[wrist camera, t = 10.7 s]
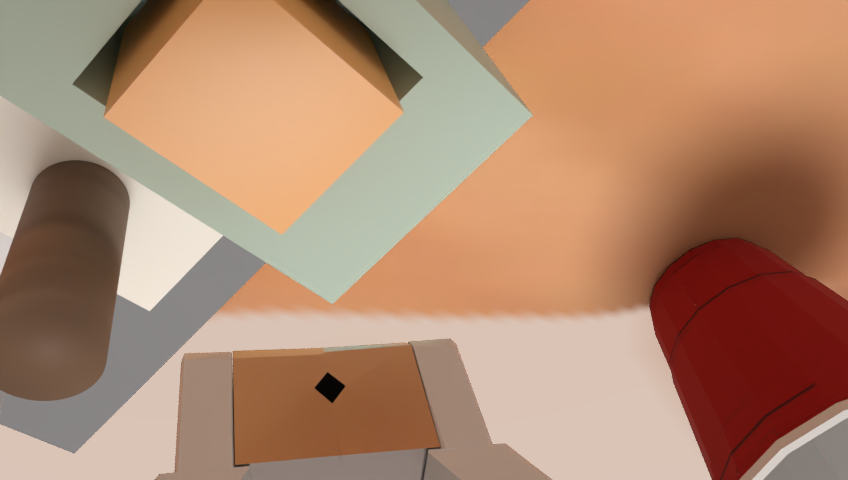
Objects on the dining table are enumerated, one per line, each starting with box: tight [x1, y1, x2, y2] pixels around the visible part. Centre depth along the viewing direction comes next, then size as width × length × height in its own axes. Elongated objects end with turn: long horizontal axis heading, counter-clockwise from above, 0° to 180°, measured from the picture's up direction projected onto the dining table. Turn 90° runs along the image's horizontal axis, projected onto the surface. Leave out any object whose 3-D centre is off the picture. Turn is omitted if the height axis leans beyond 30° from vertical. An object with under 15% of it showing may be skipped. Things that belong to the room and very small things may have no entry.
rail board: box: [0, 0, 533, 453], centre depth 21 cm, size 14×24×10 cm, turn 134°
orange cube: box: [104, 0, 404, 235], centre depth 16 cm, size 4×4×4 cm
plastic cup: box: [649, 238, 848, 480], centre depth 31 cm, size 11×11×12 cm
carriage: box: [0, 96, 223, 401], centre depth 20 cm, size 7×4×10 cm, turn 44°
